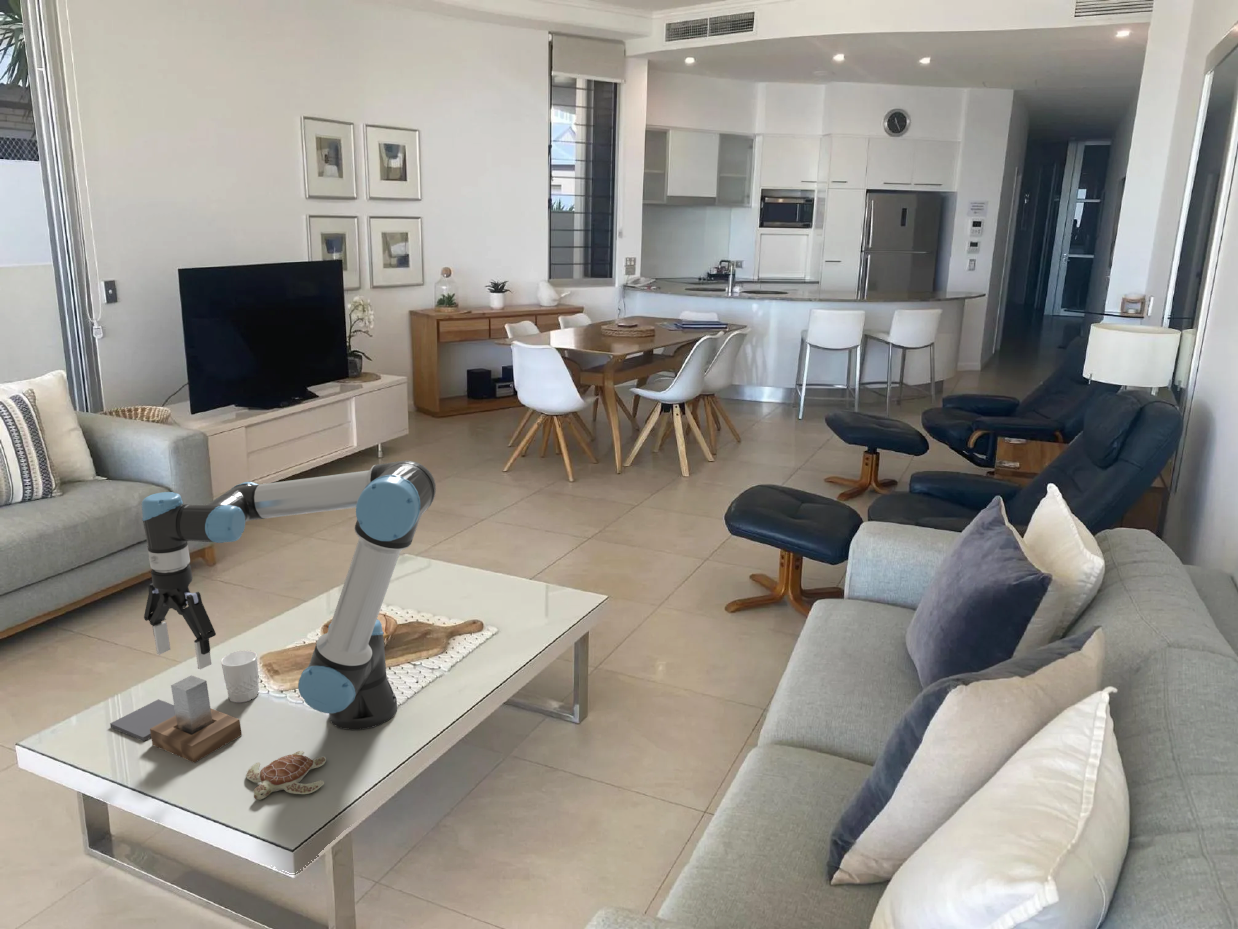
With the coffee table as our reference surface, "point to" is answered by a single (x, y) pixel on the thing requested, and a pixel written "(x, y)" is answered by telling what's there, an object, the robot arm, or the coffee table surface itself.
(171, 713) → the rubber mat
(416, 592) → the coffee table surface
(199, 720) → the metal peg
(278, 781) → the decorative turtle
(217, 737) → the walnut holder
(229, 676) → the white cup
